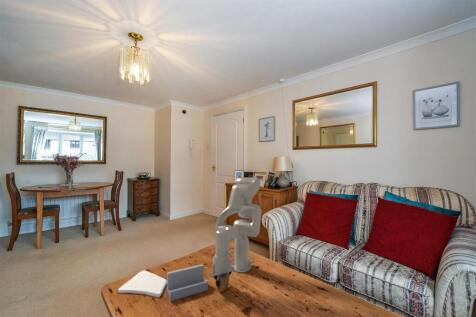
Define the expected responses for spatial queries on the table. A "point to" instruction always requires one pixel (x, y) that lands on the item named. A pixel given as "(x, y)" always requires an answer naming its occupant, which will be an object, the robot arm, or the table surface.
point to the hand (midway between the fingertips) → (222, 284)
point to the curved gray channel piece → (186, 282)
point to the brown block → (223, 282)
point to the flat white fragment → (144, 284)
